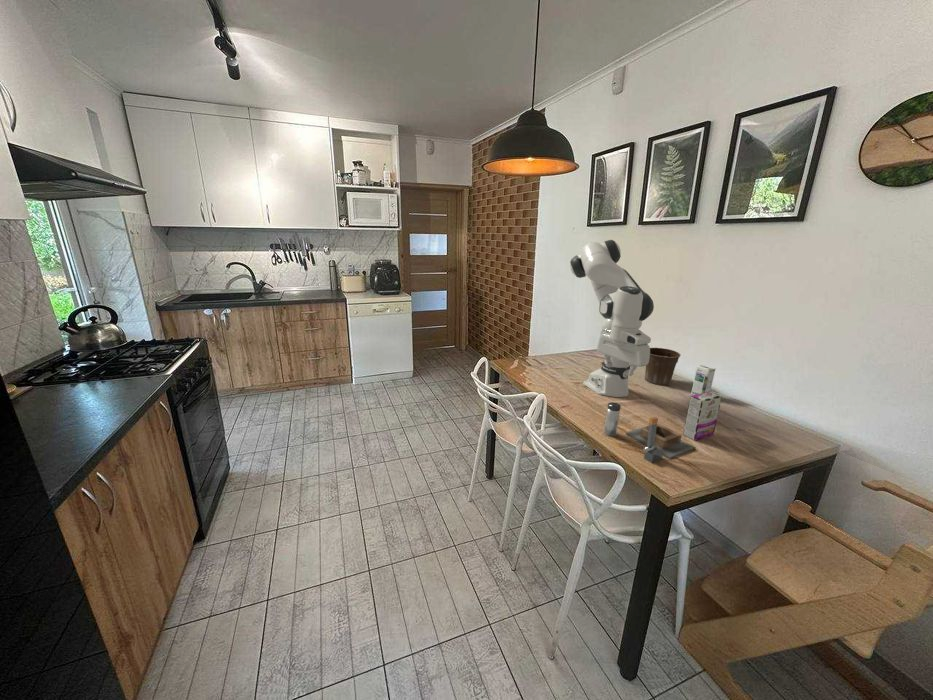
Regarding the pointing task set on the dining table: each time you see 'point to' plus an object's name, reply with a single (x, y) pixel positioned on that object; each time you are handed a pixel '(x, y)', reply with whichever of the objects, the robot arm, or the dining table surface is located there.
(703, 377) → the syrup box
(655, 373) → the plant pot
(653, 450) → the retainer base
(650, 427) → the bar
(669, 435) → the hitch block
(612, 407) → the steel pin
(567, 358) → the dining table surface
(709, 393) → the candy bar box
